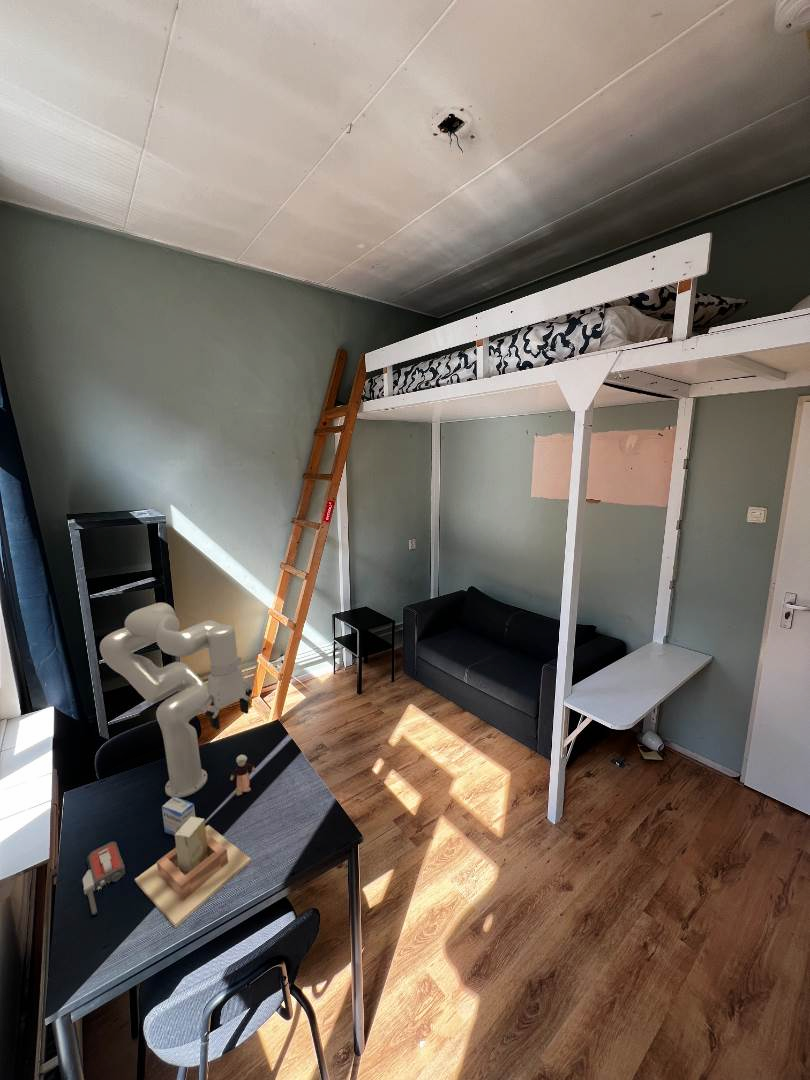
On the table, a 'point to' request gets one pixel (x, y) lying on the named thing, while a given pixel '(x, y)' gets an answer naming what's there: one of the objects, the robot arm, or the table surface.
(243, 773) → the grandmother figurine
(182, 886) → the socket stand
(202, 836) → the skincare box
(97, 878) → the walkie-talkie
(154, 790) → the table surface
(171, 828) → the medicine box
